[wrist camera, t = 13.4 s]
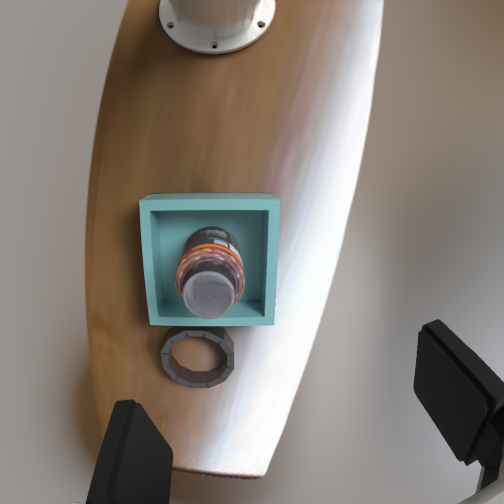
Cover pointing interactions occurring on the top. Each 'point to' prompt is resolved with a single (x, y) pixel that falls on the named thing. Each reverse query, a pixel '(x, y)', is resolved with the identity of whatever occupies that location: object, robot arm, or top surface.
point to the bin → (189, 221)
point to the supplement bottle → (210, 273)
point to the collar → (198, 377)
